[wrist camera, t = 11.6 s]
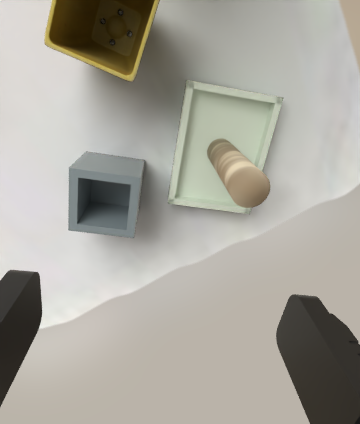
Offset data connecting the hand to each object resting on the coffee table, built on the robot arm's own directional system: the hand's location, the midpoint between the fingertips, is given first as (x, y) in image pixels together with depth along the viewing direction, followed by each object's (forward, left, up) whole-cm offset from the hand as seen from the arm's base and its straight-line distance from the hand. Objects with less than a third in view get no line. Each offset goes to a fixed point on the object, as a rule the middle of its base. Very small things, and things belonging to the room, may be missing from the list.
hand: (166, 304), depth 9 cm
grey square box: (+8, -6, -33) cm, 34 cm away
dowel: (+1, +8, -32) cm, 33 cm away
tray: (+1, +8, -33) cm, 34 cm away
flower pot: (-11, -7, -33) cm, 36 cm away
